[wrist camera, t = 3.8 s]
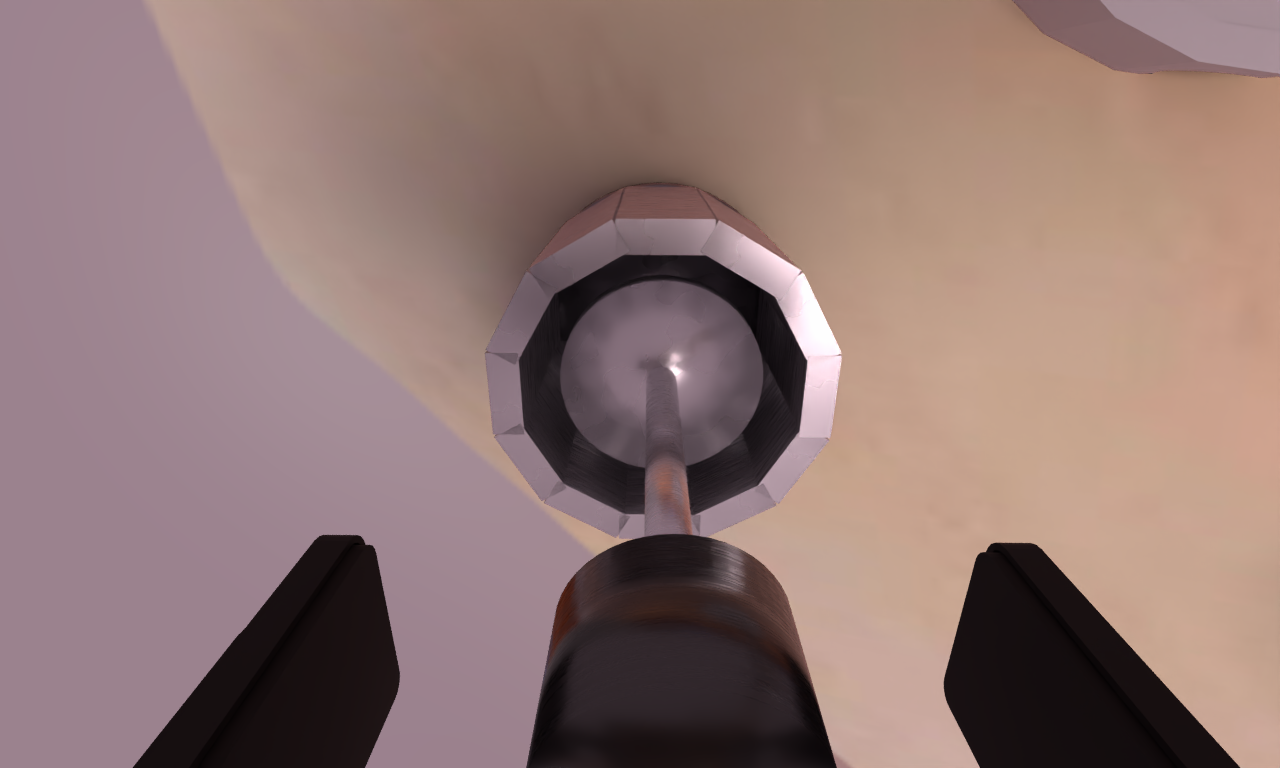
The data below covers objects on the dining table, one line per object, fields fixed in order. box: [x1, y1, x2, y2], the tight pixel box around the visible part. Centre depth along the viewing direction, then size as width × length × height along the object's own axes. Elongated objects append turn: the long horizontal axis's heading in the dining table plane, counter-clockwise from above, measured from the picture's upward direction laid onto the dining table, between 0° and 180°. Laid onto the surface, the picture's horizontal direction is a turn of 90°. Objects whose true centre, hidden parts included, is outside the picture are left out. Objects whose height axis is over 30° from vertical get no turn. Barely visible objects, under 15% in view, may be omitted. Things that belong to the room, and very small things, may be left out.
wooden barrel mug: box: [485, 183, 842, 539], centre depth 22 cm, size 13×10×9 cm
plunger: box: [526, 275, 837, 768], centre depth 13 cm, size 6×6×13 cm
